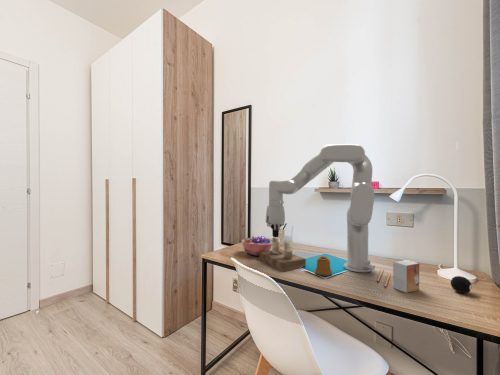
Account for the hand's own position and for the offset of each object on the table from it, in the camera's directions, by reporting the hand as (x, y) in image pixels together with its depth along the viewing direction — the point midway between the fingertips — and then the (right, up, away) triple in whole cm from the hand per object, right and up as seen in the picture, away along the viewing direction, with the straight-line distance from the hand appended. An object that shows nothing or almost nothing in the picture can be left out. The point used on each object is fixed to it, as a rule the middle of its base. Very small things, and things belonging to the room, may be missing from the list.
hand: (275, 236), depth 132 cm
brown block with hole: (+3, -13, -4) cm, 14 cm away
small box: (+48, -13, -36) cm, 62 cm away
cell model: (-10, -13, +12) cm, 20 cm away
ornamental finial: (+20, -13, -20) cm, 31 cm away
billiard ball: (+67, -14, -40) cm, 79 cm away
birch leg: (0, -13, 0) cm, 13 cm away
